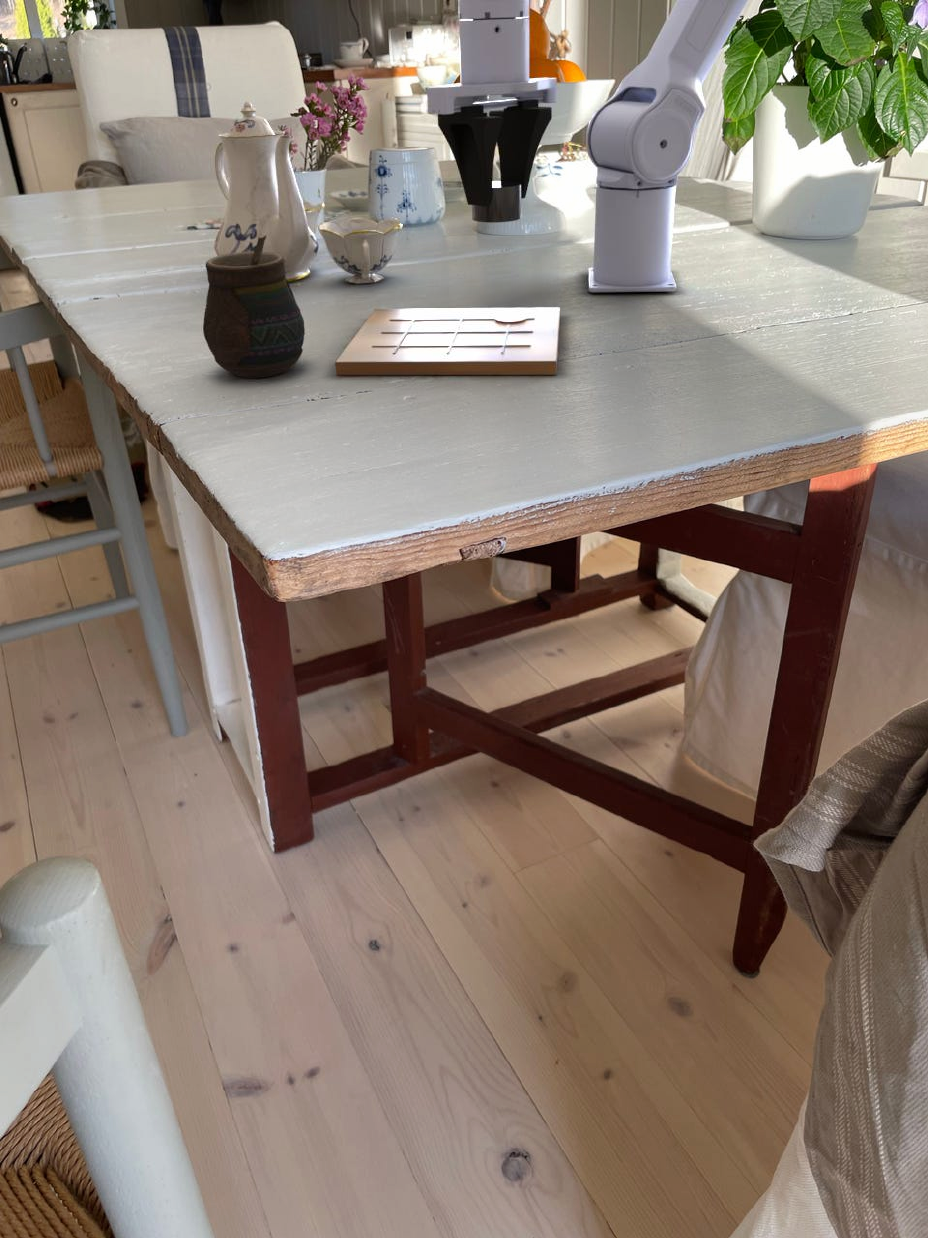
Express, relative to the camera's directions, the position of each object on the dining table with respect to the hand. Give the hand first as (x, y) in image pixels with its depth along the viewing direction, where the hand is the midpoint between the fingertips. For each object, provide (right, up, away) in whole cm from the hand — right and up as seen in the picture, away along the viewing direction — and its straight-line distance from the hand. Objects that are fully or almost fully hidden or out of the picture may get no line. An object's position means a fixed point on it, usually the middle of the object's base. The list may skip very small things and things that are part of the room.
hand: (496, 201), depth 85 cm
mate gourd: (-18, -18, -13) cm, 29 cm away
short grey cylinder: (0, -1, +1) cm, 1 cm away
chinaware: (-21, 0, +18) cm, 28 cm away
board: (-3, -15, -9) cm, 18 cm away
